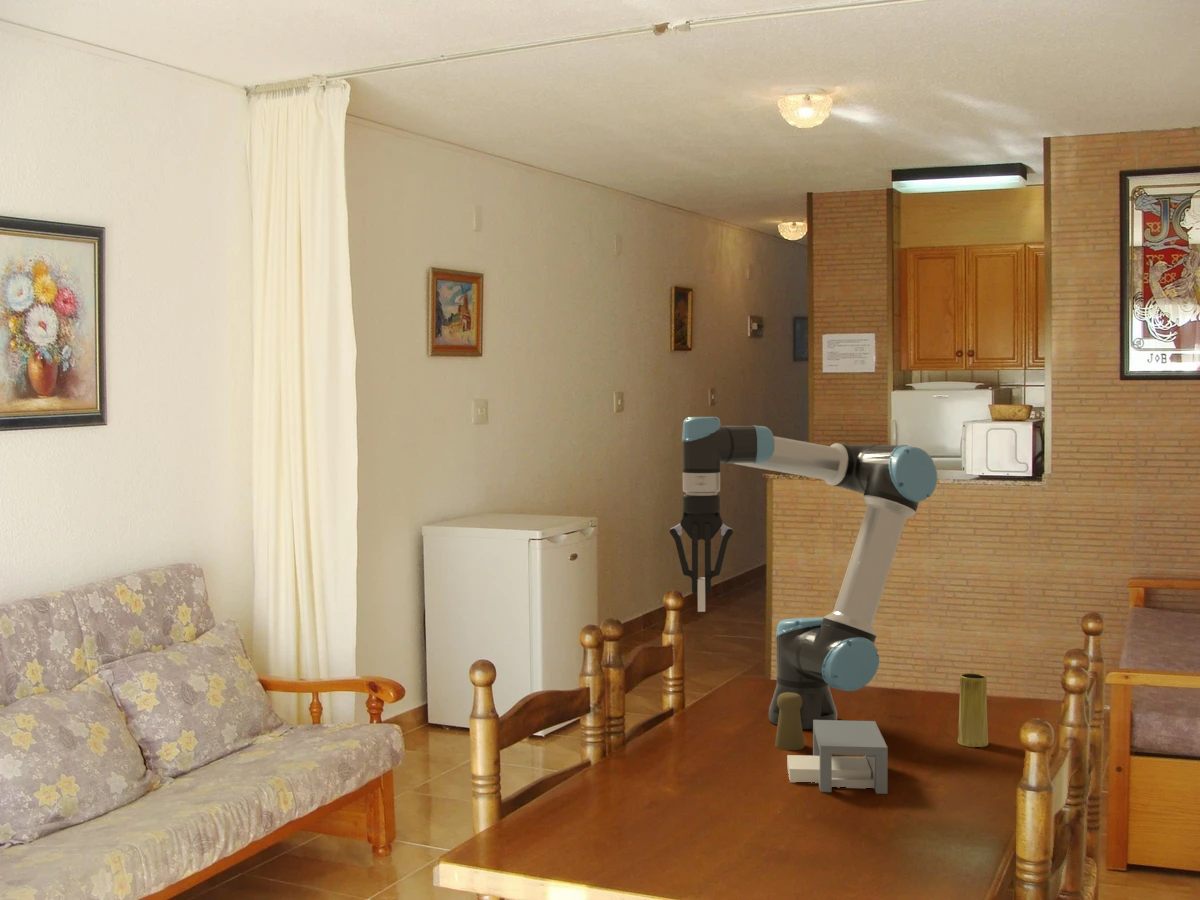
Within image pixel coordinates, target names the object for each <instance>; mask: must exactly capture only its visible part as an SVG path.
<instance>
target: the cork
mask: <svg viewBox="0 0 1200 900" xmlns="http://www.w3.org/2000/svg"><path fill="white" fill-rule="evenodd" d="M777 705H778V707H779V709H780V711H779V719H778V725H776V726H777V728H776V733H775V734H776V735H775V742H774V747H775V748H777V747H778V749H779V748H781V749H780V750H783V749H787V750H786V751H798V749H800V750H802V748H803V749H804V748H805V741H804V732H803V729H802V724H801V717H800V708H801V707H802V698H801V696H800V695H799V694H797V693H792V692H786V693H781V694H780V695H779V696H778V698H777Z"/></svg>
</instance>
